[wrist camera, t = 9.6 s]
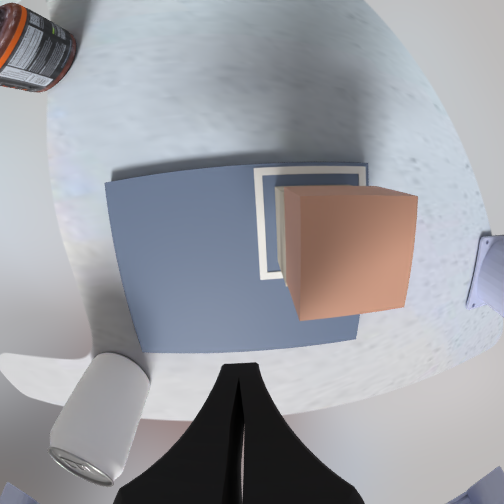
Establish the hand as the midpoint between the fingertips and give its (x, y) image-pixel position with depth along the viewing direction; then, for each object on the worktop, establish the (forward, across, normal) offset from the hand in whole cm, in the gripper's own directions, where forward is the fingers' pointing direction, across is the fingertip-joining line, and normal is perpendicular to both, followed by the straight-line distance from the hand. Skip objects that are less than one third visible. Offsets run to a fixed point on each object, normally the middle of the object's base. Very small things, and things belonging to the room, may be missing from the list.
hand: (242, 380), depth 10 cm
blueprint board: (+10, 0, -1) cm, 10 cm away
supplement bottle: (+11, +15, -20) cm, 27 cm away
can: (+11, +13, +10) cm, 20 cm away
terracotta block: (+5, -5, -4) cm, 9 cm away
